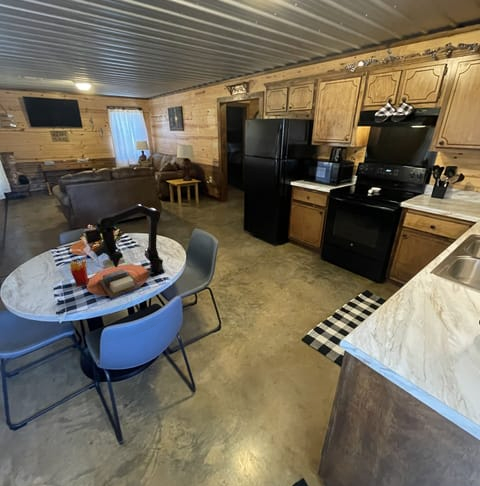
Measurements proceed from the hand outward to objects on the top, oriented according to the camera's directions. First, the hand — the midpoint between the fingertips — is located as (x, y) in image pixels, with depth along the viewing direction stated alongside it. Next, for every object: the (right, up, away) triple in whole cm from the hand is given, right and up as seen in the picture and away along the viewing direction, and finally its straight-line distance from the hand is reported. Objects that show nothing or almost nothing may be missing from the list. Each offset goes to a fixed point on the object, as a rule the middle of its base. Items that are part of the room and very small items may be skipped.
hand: (114, 265), depth 145 cm
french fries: (-20, -11, +5) cm, 23 cm away
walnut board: (+1, -12, +3) cm, 12 cm away
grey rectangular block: (-2, -9, +7) cm, 11 cm away
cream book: (0, +1, 0) cm, 1 cm away
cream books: (+5, -12, -1) cm, 13 cm away
